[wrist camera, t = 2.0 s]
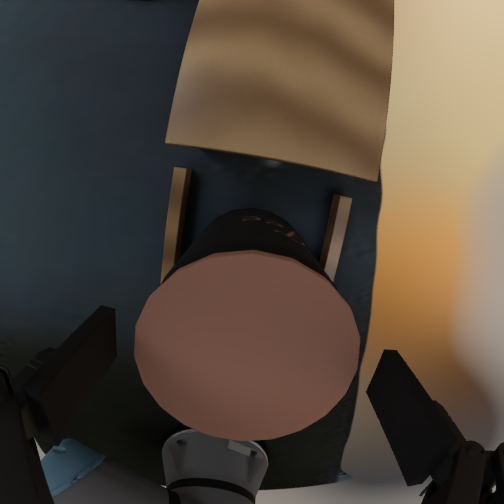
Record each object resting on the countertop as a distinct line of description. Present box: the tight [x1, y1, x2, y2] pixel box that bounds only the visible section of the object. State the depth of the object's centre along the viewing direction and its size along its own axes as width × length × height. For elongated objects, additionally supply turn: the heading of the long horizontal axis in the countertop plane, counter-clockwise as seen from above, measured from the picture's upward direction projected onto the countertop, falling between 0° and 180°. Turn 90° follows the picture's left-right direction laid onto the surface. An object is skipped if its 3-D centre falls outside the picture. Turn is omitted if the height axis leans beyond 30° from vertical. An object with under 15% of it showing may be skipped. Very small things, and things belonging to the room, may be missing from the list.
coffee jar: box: [134, 208, 360, 441], centre depth 22 cm, size 11×11×18 cm
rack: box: [160, 0, 394, 285], centre depth 23 cm, size 34×16×12 cm, turn 170°
